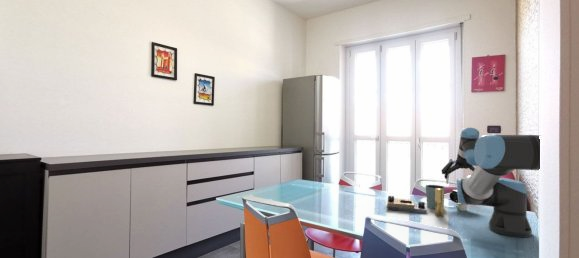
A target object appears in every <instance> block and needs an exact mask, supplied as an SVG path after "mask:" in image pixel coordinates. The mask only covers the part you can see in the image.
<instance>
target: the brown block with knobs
mask: <svg viewBox="0 0 579 258" xmlns="http://www.w3.org/2000/svg"><path fill="white" fill-rule="evenodd" d="M386 204H387V205H386V206H387V209H386V210H387V211H393V212H403V213H414V214H415V213H416V214H425V215H427V214H428V213H427V212H428V210H427V208H426V205H425V202H424V201H418V203H415V202H414V199H406V198H396V197H395V196H394V195H388V197H387V202H386Z"/></svg>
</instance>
